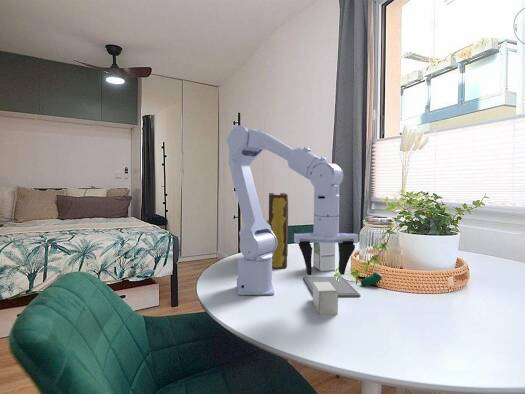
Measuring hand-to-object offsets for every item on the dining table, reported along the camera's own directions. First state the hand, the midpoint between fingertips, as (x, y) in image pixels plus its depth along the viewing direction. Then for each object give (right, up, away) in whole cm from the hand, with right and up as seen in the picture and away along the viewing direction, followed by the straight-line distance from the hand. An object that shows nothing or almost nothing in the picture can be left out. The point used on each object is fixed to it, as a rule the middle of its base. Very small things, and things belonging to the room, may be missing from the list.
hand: (325, 273), depth 70 cm
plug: (0, -8, +2) cm, 8 cm away
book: (-9, -6, +43) cm, 44 cm away
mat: (+4, -7, +15) cm, 17 cm away
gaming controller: (+17, -8, +20) cm, 27 cm away
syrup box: (+6, -7, +33) cm, 34 cm away
